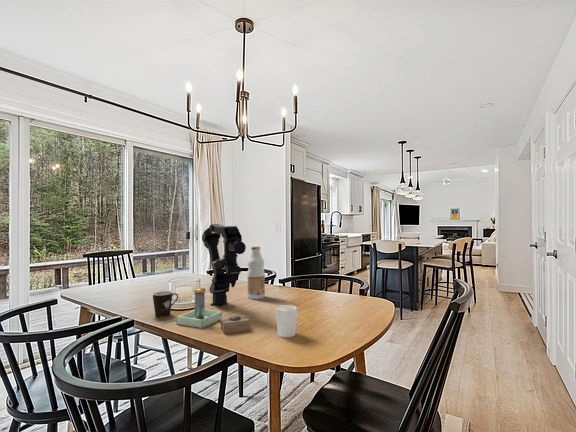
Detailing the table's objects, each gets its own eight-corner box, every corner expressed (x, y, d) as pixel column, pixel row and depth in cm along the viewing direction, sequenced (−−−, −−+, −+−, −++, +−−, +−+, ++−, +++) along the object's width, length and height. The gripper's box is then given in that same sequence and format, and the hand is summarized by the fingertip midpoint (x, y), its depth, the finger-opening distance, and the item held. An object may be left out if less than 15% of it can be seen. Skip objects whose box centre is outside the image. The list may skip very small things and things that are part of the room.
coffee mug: (153, 319, 145) (153, 296, 145) (151, 314, 153) (151, 292, 153) (181, 315, 151) (180, 293, 151) (177, 310, 158) (177, 289, 158)
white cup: (275, 331, 127) (275, 305, 128) (295, 330, 128) (295, 304, 128) (276, 338, 120) (276, 311, 120) (298, 337, 120) (297, 310, 120)
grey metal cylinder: (192, 319, 141) (192, 289, 142) (202, 317, 145) (202, 287, 145) (196, 322, 138) (196, 291, 138) (207, 319, 141) (207, 289, 141)
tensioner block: (220, 327, 132) (220, 315, 132) (245, 324, 136) (245, 313, 136) (223, 333, 125) (223, 320, 126) (249, 330, 129) (249, 317, 129)
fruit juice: (248, 300, 177) (248, 247, 177) (246, 296, 186) (246, 246, 186) (266, 298, 179) (265, 247, 179) (263, 295, 188) (262, 245, 188)
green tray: (176, 323, 138) (176, 316, 138) (197, 315, 150) (197, 308, 150) (201, 327, 132) (201, 320, 132) (221, 318, 144) (221, 311, 144)
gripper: (210, 251, 163) (211, 283, 163) (216, 255, 146) (216, 290, 146) (233, 250, 167) (233, 281, 167) (241, 254, 150) (241, 288, 149)
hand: (230, 285), depth 157 cm, fingers open, 9 cm apart
